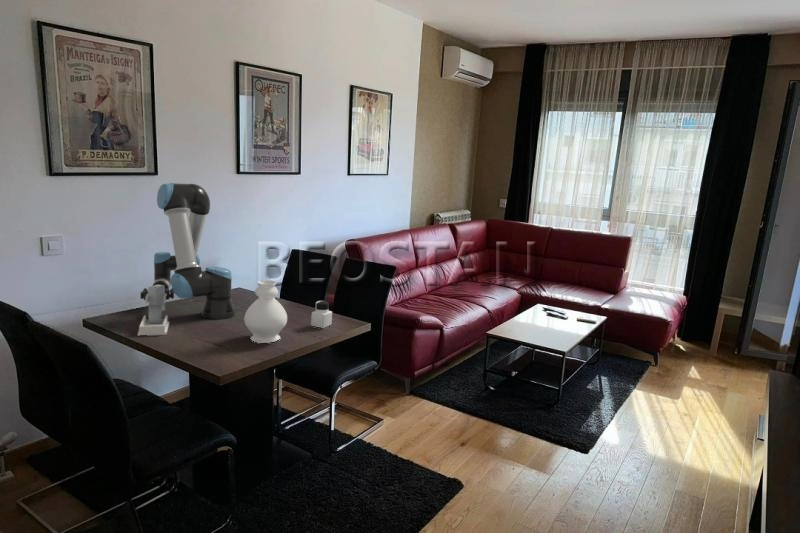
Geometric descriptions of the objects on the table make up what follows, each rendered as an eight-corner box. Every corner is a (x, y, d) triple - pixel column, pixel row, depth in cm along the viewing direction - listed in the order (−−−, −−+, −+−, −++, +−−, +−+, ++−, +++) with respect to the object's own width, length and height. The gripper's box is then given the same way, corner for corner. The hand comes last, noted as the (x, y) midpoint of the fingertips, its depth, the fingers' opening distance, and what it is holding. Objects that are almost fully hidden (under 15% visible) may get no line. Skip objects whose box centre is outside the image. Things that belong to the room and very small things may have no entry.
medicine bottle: (331, 325, 253) (332, 301, 251) (323, 329, 247) (324, 304, 245) (319, 323, 256) (320, 298, 254) (310, 326, 250) (311, 301, 247)
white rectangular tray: (169, 323, 240) (169, 314, 239) (166, 334, 225) (166, 325, 224) (142, 324, 236) (142, 315, 235) (137, 335, 221) (137, 326, 220)
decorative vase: (264, 349, 217) (266, 289, 212) (235, 339, 226) (235, 281, 221) (295, 338, 232) (297, 282, 227) (265, 329, 241) (267, 275, 236)
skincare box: (157, 309, 248) (157, 283, 246) (165, 310, 247) (165, 285, 244) (147, 312, 242) (147, 286, 240) (156, 313, 241) (155, 287, 238)
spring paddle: (162, 322, 237) (161, 305, 235) (161, 323, 235) (161, 305, 234) (149, 322, 235) (148, 305, 233) (148, 323, 234) (148, 305, 232)
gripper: (182, 295, 263) (179, 307, 242) (138, 295, 257) (131, 308, 236) (182, 280, 262) (179, 291, 241) (138, 280, 256) (131, 292, 234)
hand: (155, 300), depth 238 cm, fingers closed on skincare box, 7 cm apart
